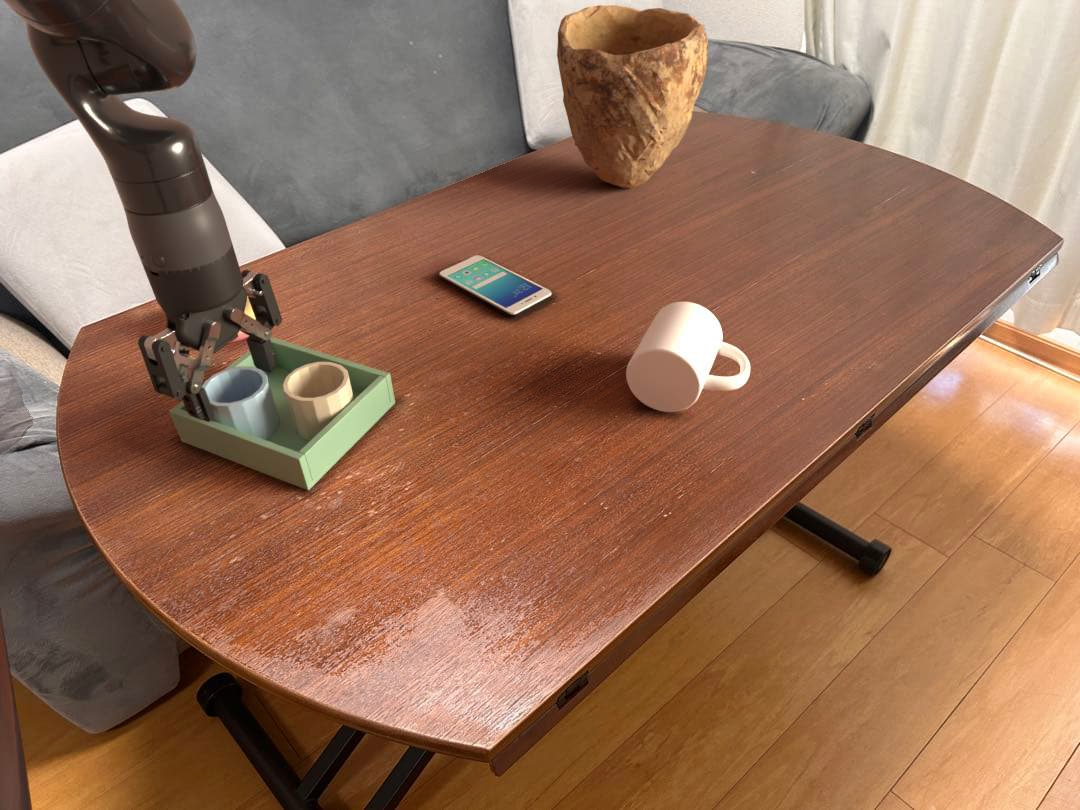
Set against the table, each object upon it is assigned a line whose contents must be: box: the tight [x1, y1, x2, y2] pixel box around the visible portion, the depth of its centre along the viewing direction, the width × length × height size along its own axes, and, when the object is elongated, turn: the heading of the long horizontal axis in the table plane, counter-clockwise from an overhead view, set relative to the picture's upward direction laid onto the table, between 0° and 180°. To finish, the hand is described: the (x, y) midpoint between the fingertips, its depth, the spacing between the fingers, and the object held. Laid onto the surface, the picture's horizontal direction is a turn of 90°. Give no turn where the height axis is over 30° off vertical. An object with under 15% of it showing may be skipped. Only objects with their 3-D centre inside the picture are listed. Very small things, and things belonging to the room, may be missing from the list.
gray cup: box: [202, 366, 280, 440], centre depth 77 cm, size 6×6×6 cm
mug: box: [625, 301, 751, 413], centre depth 81 cm, size 12×10×8 cm
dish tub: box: [168, 336, 396, 491], centre depth 79 cm, size 15×17×4 cm
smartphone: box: [439, 255, 552, 319], centre depth 100 cm, size 7×1×15 cm
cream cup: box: [283, 362, 354, 441], centre depth 77 cm, size 6×6×6 cm
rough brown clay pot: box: [556, 4, 709, 189], centre depth 119 cm, size 22×22×25 cm
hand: (236, 392), depth 76 cm, fingers open, 8 cm apart
